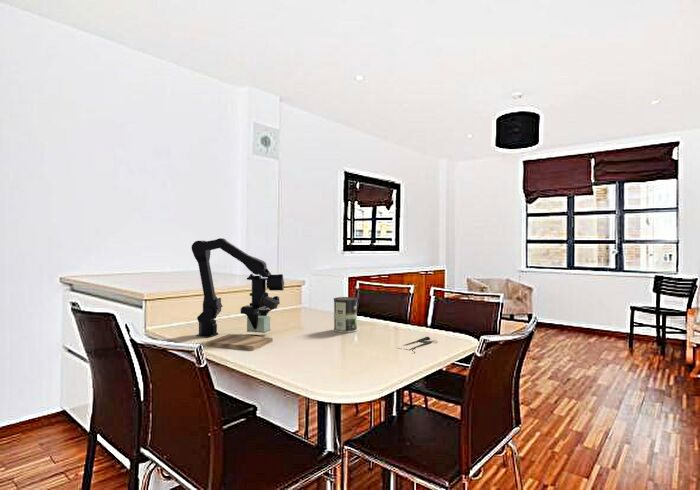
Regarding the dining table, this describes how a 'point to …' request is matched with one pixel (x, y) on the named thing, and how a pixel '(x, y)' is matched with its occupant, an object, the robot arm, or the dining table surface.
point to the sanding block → (259, 324)
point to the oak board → (240, 342)
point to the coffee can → (345, 314)
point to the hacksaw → (419, 341)
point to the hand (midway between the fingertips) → (258, 327)
